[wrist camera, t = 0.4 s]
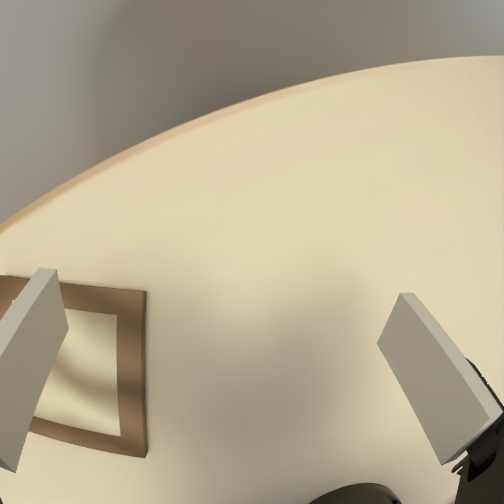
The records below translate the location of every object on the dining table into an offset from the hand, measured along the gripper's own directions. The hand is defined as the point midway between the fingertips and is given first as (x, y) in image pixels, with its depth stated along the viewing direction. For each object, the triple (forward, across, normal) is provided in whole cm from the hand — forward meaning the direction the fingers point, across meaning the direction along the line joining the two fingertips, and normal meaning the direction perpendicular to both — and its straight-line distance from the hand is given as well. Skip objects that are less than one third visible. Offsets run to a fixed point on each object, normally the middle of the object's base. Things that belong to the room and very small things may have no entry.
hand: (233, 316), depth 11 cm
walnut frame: (+10, +14, +16) cm, 24 cm away
